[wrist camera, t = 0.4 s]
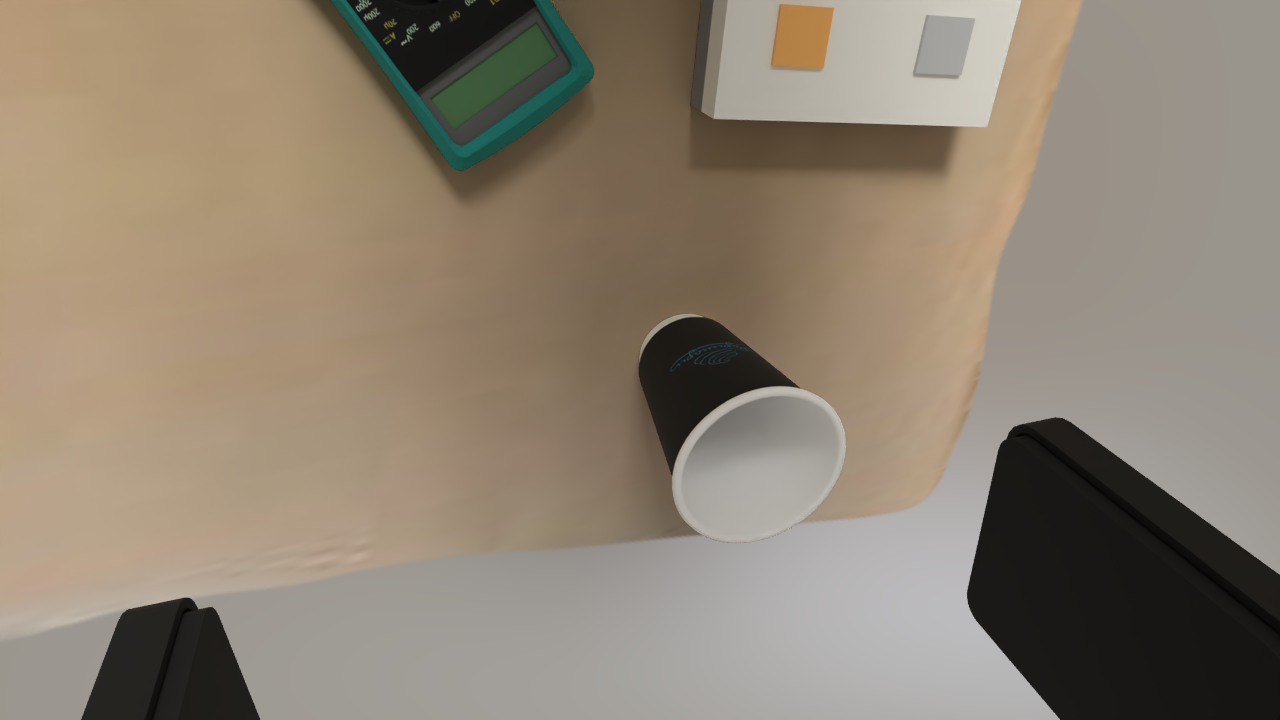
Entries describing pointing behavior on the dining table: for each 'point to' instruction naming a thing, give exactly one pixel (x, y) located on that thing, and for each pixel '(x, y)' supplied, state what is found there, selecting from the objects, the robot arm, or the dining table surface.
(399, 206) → the dining table surface
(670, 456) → the dixie cup
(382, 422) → the dining table surface
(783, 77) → the switch panel
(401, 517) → the dining table surface
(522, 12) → the digital multimeter
